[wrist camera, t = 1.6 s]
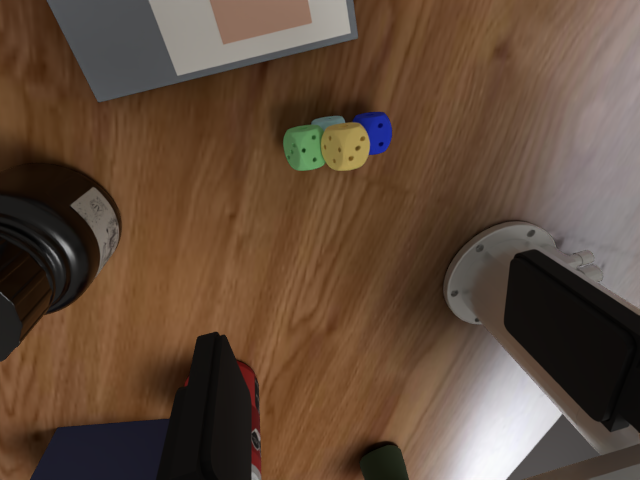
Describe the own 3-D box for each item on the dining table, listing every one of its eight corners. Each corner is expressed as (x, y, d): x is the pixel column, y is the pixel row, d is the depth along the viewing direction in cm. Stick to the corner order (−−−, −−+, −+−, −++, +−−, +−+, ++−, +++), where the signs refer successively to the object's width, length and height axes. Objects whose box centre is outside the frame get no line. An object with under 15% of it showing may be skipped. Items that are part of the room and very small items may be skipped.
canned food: (233, 414, 40) (228, 525, 30) (170, 392, 36) (141, 509, 27) (273, 373, 38) (281, 477, 28) (210, 345, 35) (194, 454, 25)
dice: (377, 107, 27) (411, 119, 21) (379, 141, 28) (411, 160, 23) (277, 124, 26) (285, 141, 20) (284, 158, 27) (292, 182, 22)
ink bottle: (101, 285, 29) (19, 407, 19) (-22, 245, 26) (-205, 366, 16) (142, 191, 26) (71, 274, 16) (8, 132, 23) (-192, 188, 13)
